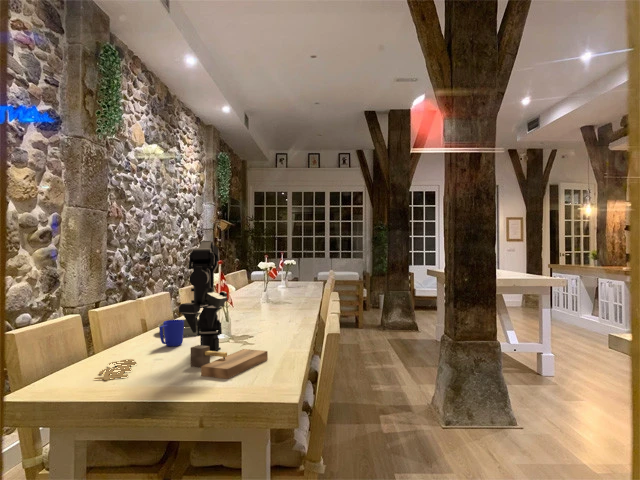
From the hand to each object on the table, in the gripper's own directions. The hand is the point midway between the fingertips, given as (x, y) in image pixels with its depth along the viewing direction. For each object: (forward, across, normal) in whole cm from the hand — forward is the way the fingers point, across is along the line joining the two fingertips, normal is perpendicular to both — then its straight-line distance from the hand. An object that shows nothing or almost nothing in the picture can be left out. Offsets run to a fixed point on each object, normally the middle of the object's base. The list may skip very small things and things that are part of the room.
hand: (202, 330), depth 159 cm
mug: (+12, +21, +31) cm, 40 cm away
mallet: (+12, -1, -3) cm, 13 cm away
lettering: (+13, -14, +24) cm, 31 cm away
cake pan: (+12, +48, +46) cm, 68 cm away
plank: (+12, +2, -12) cm, 17 cm away
